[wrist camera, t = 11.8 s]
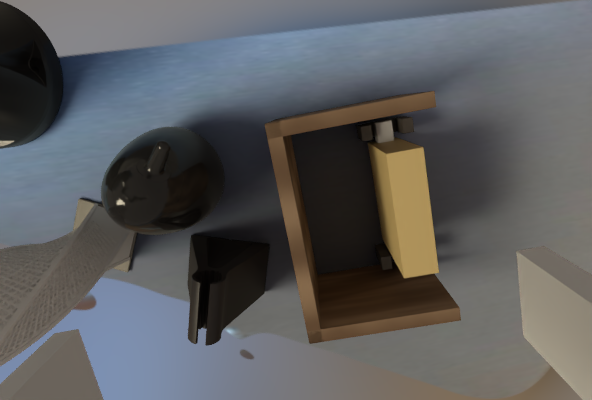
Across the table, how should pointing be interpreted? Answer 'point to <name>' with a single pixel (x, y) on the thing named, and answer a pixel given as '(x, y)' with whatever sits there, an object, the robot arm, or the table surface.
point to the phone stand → (223, 282)
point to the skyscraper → (57, 276)
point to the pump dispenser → (163, 182)
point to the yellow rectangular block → (403, 201)
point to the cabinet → (386, 276)
